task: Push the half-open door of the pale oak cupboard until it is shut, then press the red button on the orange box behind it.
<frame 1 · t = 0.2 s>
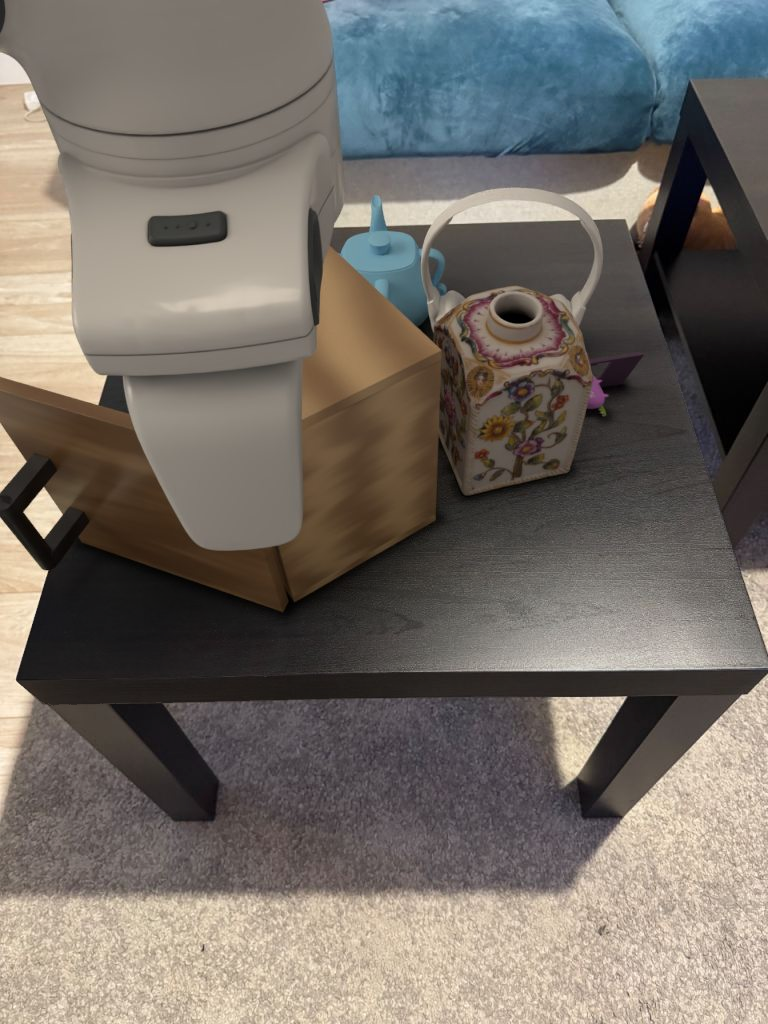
hand: (274, 435, 35), 33 cm above the table, tool pointing down, fingers open, 8 cm apart
button box: (234, 301, 92), on the table
teapot: (383, 314, 90), on the table
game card: (589, 404, 80), on the table
decorative jar: (497, 446, 77), on the table
door: (128, 530, 59), point 11 cm above the table, hinge at 35.0°
cupboard: (309, 485, 75), on the table
headphones: (499, 354, 85), on the table
button: (226, 271, 89), point 4 cm above the table, slide at 0.1 cm
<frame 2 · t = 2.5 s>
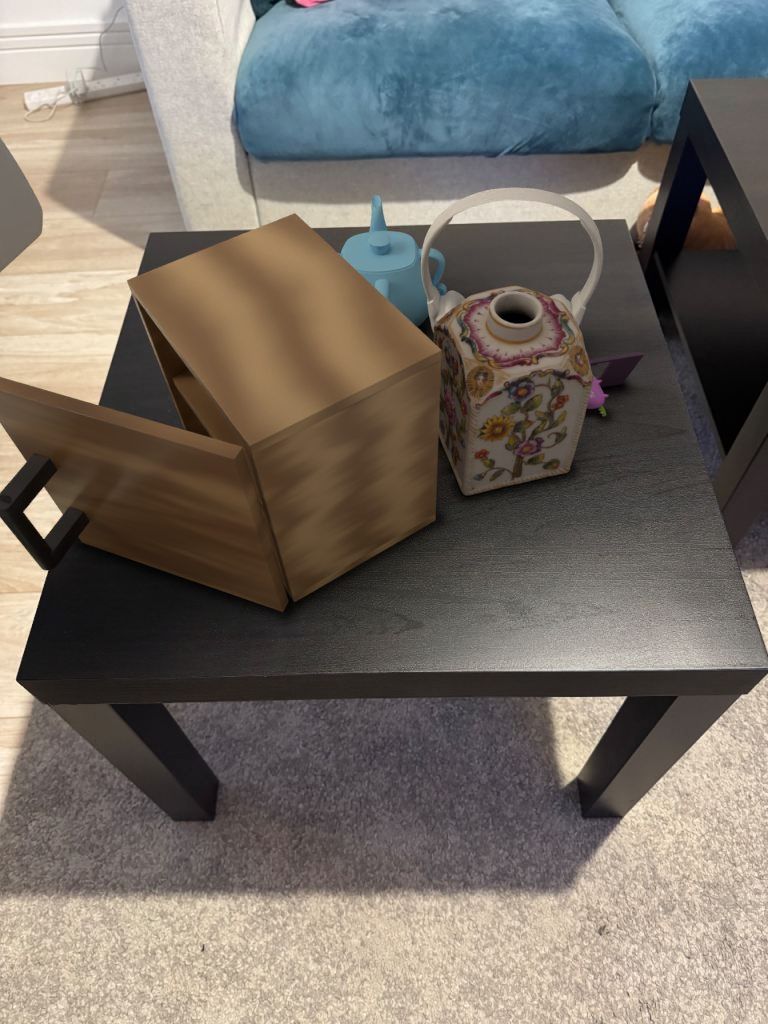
nothing on the table moved.
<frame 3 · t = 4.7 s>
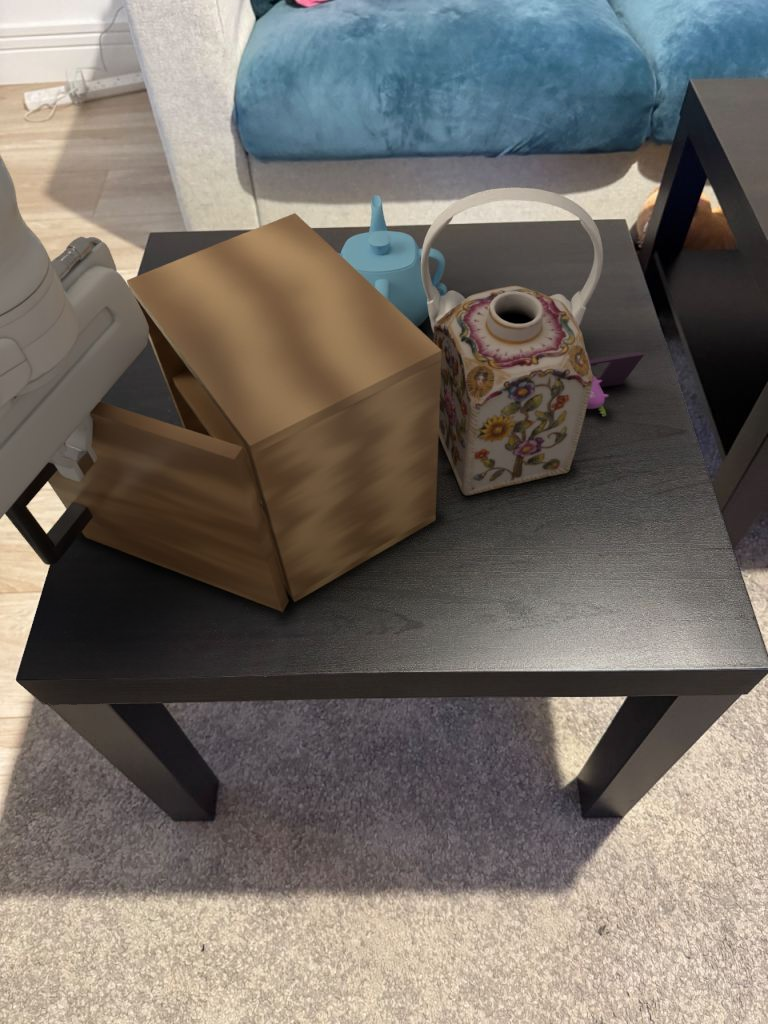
hand: (81, 468, 54), 18 cm above the table, tool pointing down, fingers closed
door: (129, 527, 59), point 11 cm above the table, hinge at 33.4°, touching gripper
everything else where it was.
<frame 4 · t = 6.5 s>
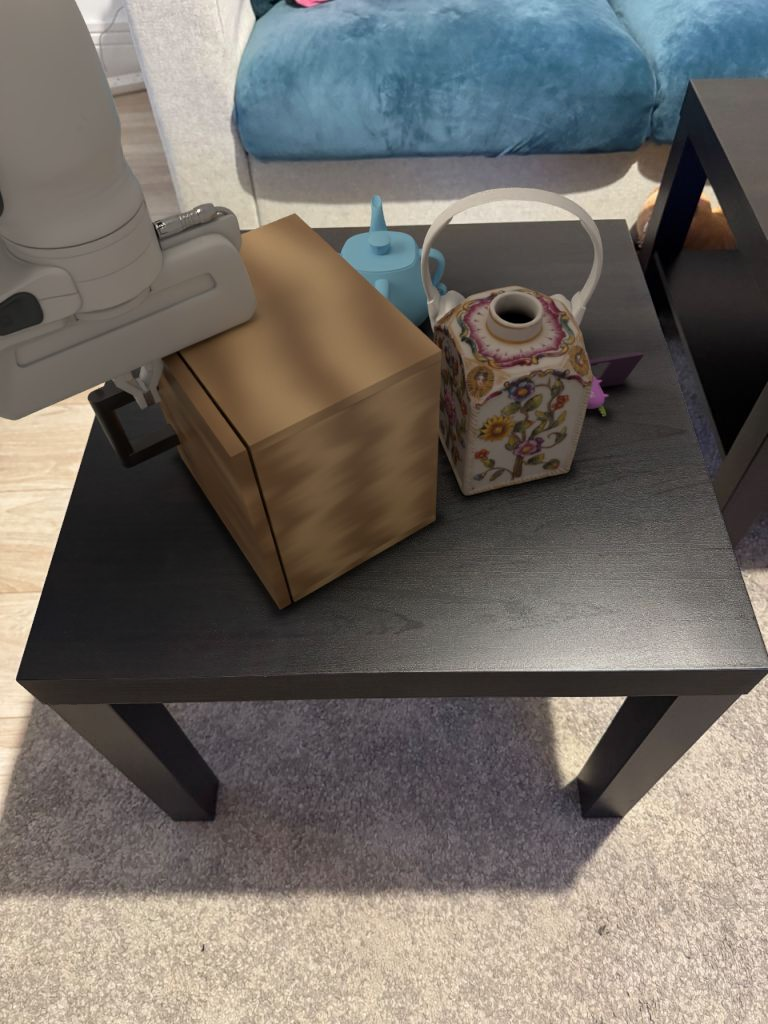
hand: (148, 400, 58), 18 cm above the table, tool pointing down, fingers closed
door: (175, 469, 62), point 11 cm above the table, hinge at -0.2°, touching gripper
everything else where it was.
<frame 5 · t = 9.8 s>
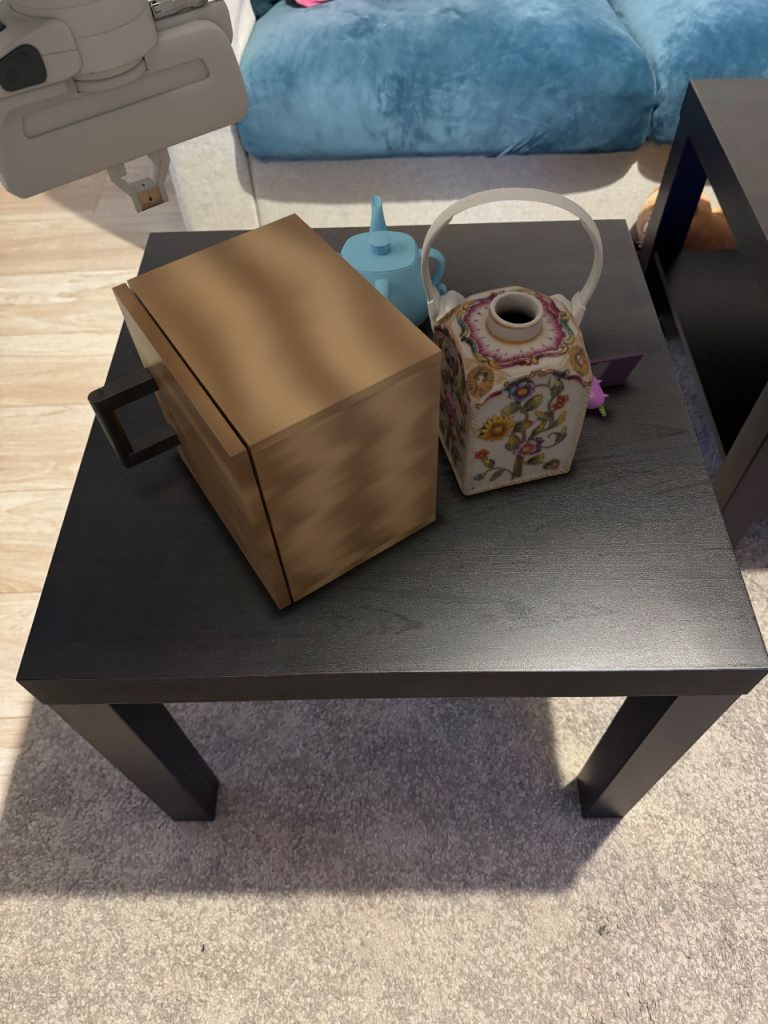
hand: (150, 204, 62), 25 cm above the table, tool pointing down, fingers closed
door: (175, 469, 62), point 11 cm above the table, hinge at -0.2°
everything else where it was.
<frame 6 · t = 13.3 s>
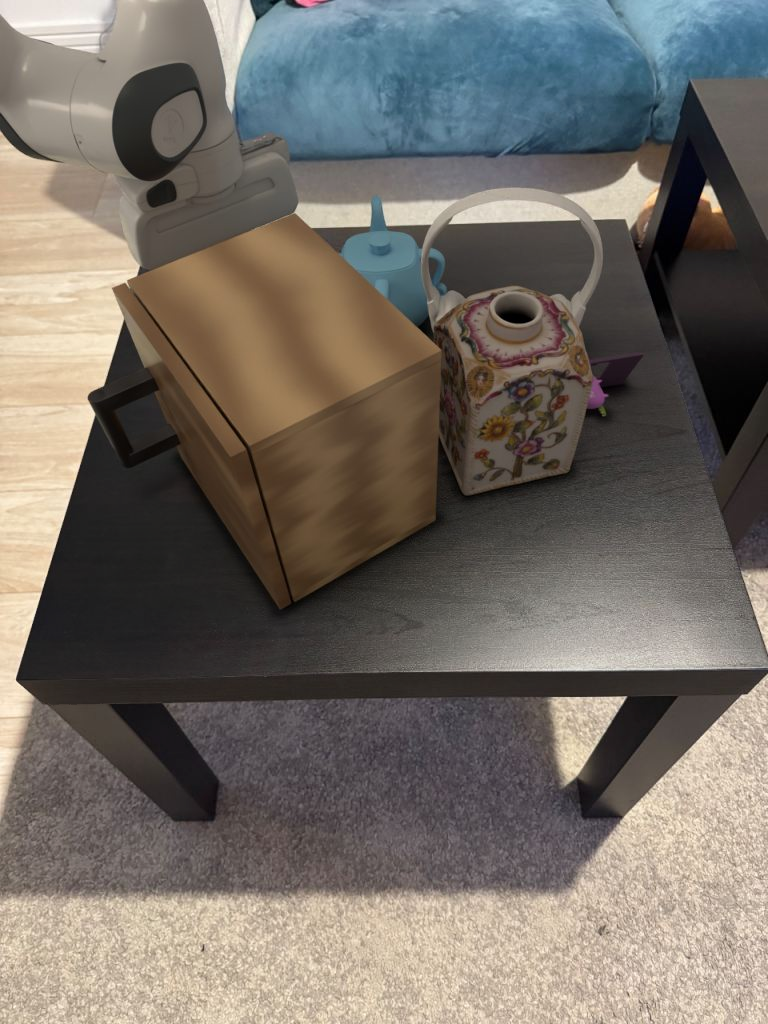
hand: (227, 269, 89), 5 cm above the table, tool pointing down, fingers closed, pressing on button
button: (227, 275, 89), point 4 cm above the table, slide at -0.5 cm, touching gripper
everything else where it was.
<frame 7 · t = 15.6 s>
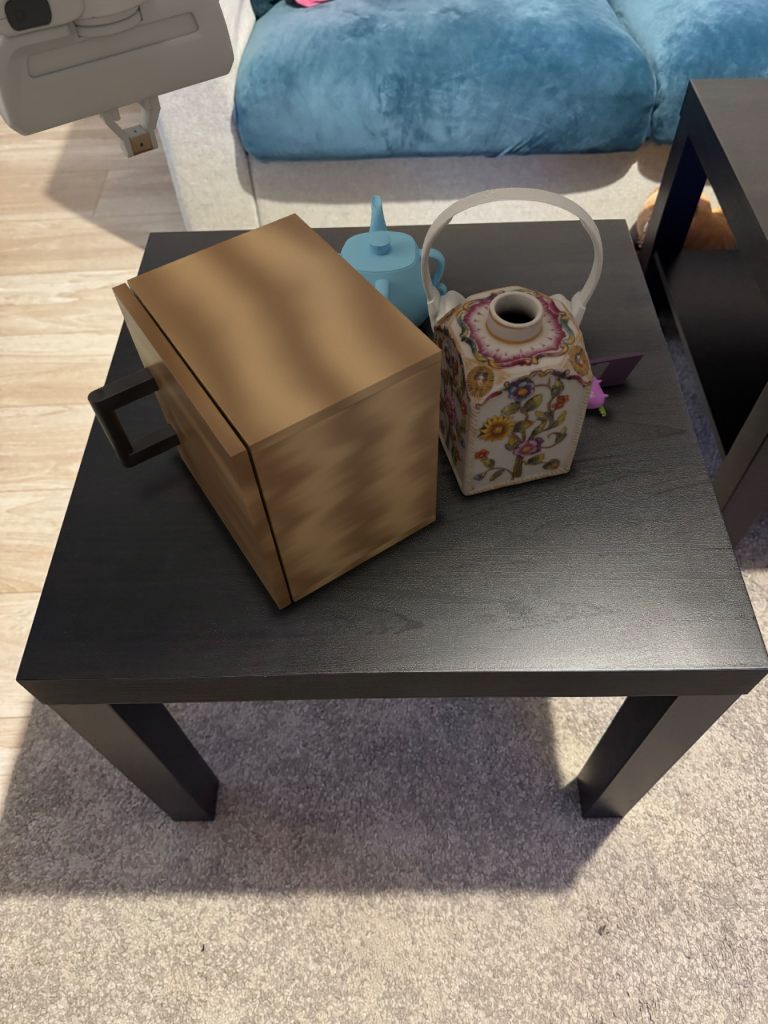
hand: (140, 150, 67), 25 cm above the table, tool pointing down, fingers closed
button: (226, 271, 89), point 4 cm above the table, slide at 0.1 cm
everything else where it was.
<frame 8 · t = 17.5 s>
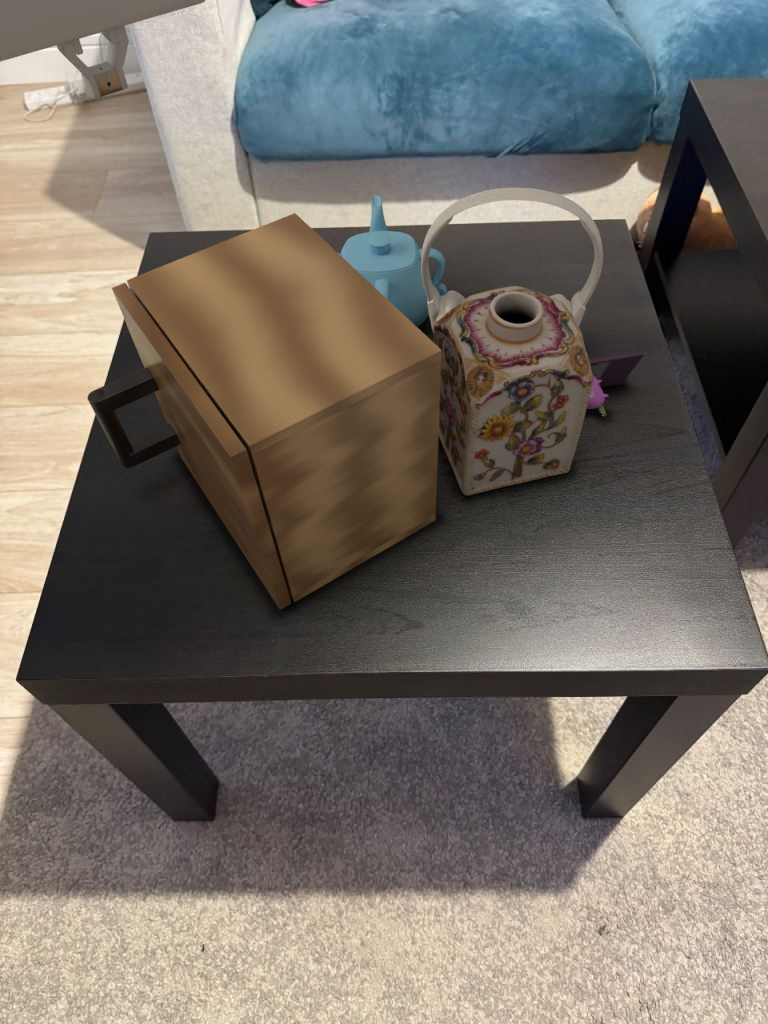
hand: (108, 91, 60), 31 cm above the table, tool pointing down, fingers closed
nothing on the table moved.
at the end: door at +0° (first picture: +35°); button pushed in 1.0 cm at the most during the clip, back to where it started at the end; button slide at 0.1 cm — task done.
